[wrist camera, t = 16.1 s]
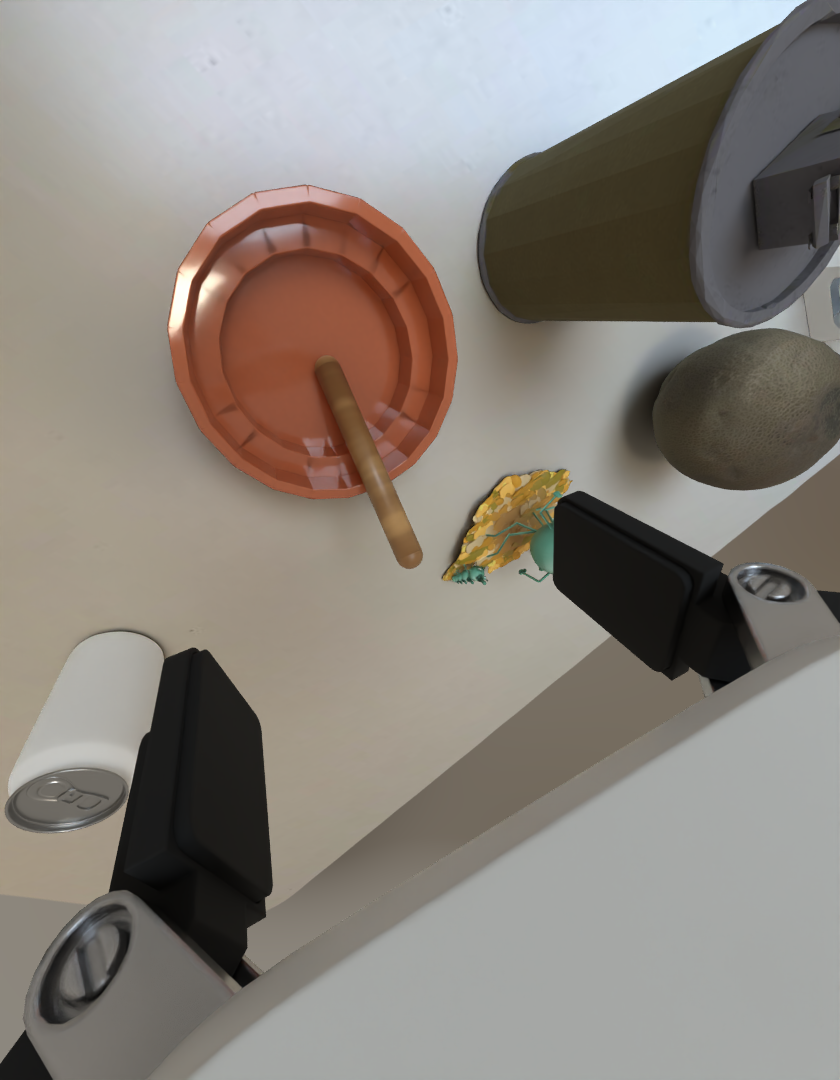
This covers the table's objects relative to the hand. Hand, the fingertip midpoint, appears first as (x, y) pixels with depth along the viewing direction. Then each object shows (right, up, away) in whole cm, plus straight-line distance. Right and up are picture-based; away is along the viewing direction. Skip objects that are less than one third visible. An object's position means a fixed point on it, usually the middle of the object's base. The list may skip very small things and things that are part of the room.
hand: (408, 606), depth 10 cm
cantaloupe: (+27, +17, +32) cm, 45 cm away
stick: (-6, +14, +17) cm, 23 cm away
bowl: (-7, +15, +18) cm, 24 cm away
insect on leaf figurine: (+9, +4, +32) cm, 33 cm away
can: (-25, -8, +23) cm, 35 cm away
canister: (+9, +25, +20) cm, 33 cm away
